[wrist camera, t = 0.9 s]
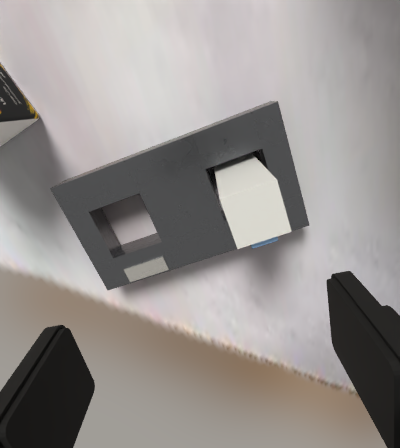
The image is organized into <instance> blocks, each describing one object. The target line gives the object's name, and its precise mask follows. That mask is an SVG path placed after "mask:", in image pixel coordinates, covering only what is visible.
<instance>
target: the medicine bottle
mask: <svg viewBox="0 0 400 448" xmlns="http://www.w3.org/2000/svg"><path fill="white" fill-rule="evenodd" d="M38 119H39V115H38V113H37V112H36V110H35V109H34V108H33V106H32V105H31V104H30V102H29V101H28V100H27V98H26V97H25V96H24V94H23V93H22V92H21V90H20V89H19V88H18V86H17V85H16V84H15V82H14V81H13V80H12V78H11V77H10V76H9V74H8V73H7V72H6V70H5V69H4V68H3V66H2V65H1V64H0V147H1V146H2V145H3V144H5V143H6V142H8V141H9V140H10V139H12V138H13V137H15V136H16V135H17V134H19V133H20V132H22V131H23V130H24V129H26V128H27V127H28V126H30V125H31V124H33V123H34V122H35V121H37V120H38Z"/></svg>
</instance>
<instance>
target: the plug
mask: <svg viewBox="0 0 400 448" xmlns="http://www.w3.org/2000/svg"><path fill="white" fill-rule="evenodd" d="M214 171H215V176H216V182H217V187H218V193H219V199H220V202H221V205H222V207H223V210H224V213H225V216H226V218H227V221H228V224H229V227H230V230H231V232H232V235H233V238H234V241H235V243H236V246H237V249H240V248H243V247H246V246H249V245H251V247H252V249H253V248H256V247H260V246H263V245H266V244H269V243H272V242H275V241H278V237H277V236H280V235H283V234H286V233H289V232H292V231H291V228H290V224H289V220H288V217H287V213H286V210H285V206H284V203H283V199H282V196H281V192H280V188H279V185H278V181H277V179H276V178H275V177H274V176H273V175H272V174H271V173H270V172H269V171H268V170H267V169H266V168H265V167H264V165H263V164H262V163H261V162H260V161H259V160H258V159H257V158H256V157H255V156H254V155H253V154H249V155H246V156H243V157H241V158H238V159H235V160H232V161H230V162H227V163H224V164H221V165H219V166H216V167H214Z"/></svg>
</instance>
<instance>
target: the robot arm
mask: <svg viewBox="0 0 400 448" xmlns="http://www.w3.org/2000/svg"><path fill="white" fill-rule="evenodd" d="M327 292H328V303H329V315H330V326H331V337H332V344H333V347H334V350H335V352H336V354H337V356H338V358H339V359H340V361H341V363H342V365H343V367H344V369H345V370H346V372H347V374H348V376H349V378H350V380H351V381H352V383H353V385H354V387H355V389H356V391H357V393H358V394H359V396H360V398H361V400H362V402H363V404H364V405H365V407H366V409H367V411H368V413H369V415H370V416H371V418H372V420H373V422H374V424H375V426H376V428H377V429H378V431H379V433H380V435H381V437H382V439H383V440H384V442H385V444H386V446H387V448H400V316H399V315H398V314H397V312H396V311H395V310H394V309H393V308H391V307H390V306H387V305H386V306H381V305H380V304H379V302H378V301H377V300H376V299H375V298H374V297H373V296H372V295H371V293H370V292H369V291H368V290H367V289H366V288H365V287H364V286H363V285H362V283H361V282H360V281H359V280H358V279H357V278H356V277H355V276H354V275H353V273H352V272H350V271H346V272H341V273H335V274H332V276H331V279H328V280H327ZM94 388H95V385H94V380H93V378H92V376H91V374H90V371H89V369H88V367H87V365H86V363H85V361H84V359H83V356H82V355H81V352H80V350H79V348H78V346H77V344H76V342H75V339H74V337H73V335H72V333H71V331H70V329H68V328H65V326H63V325H58V326H53V327H47V328H45V329H44V331H43V332H42V333H41V334H40V336H39V337H38V339H37V340H36V342H35V343H34V345H33V346H32V347H31V349H30V350H29V352H28V353H27V354H26V356H25V357H24V359H23V360H22V362H21V363H20V365H19V366H18V367H17V369H16V370H15V372H14V373H13V374H12V376H11V377H10V379H9V380H8V381H7V383H6V385H5V386H4V387H3V389H2V390H1V392H0V448H73V446H74V444H75V441H76V438H77V436H78V433H79V430H80V428H81V425H82V422H83V420H84V417H85V414H86V411H87V409H88V406H89V404H90V401H91V398H92V396H93V393H94Z"/></svg>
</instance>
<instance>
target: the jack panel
mask: <svg viewBox="0 0 400 448" xmlns="http://www.w3.org/2000/svg"><path fill="white" fill-rule="evenodd" d="M257 150H259V154H260V157H261V161H262V164H263V165H264V167H265V168H266V169H267V170H268V171H269V172H270V173H271V174H272V175H273V176H274V177H275V178H276V179H277V181H278V185H279V188H280V192H281V196H282V199H283V203H284V206H285V210H286V213H287V217H288V220H289V224H290V228H291V231H293V230H296V229H299V228H302V227H305V226H309V222H308V218H307V214H306V210H305V206H304V202H303V198H302V194H301V190H300V186H299V182H298V179H297V175H296V171H295V167H294V163H293V159H292V155H291V151H290V147H289V143H288V139H287V135H286V132H285V128H284V124H283V120H282V116H281V112H280V108H279V104H278V101H270V102H268V103H265V104H263V105H260V106H257V107H255V108H252V109H250V110H247V111H244V112H242V113H239V114H237V115H234V116H231V117H229V118H226V119H224V120H221V121H218V122H216V123H213V124H211V125H208V126H205V127H203V128H200V129H198V130H195V131H192V132H190V133H187V134H185V135H182V136H179V137H177V138H174V139H172V140H169V141H166V142H164V143H161V144H159V145H156V146H153V147H151V148H148V149H146V150H143V151H140V152H138V153H135V154H133V155H130V156H127V157H125V158H122V159H120V160H117V161H114V162H112V163H109V164H107V165H104V166H101V167H99V168H96V169H94V170H91V171H88V172H86V173H83V174H81V175H78V176H75V177H73V178H70V179H68V180H65V181H63V182H61V183H59V184H58V185H56V186H54V187H52V188H51V191H52V192H53V194H54V196H55V198H56V200H57V201H58V203H59V205H60V207H61V208H62V210H63V212H64V214H65V215H66V217H67V219H68V221H69V223H70V224H71V226H72V228H73V230H74V231H75V233H76V235H77V237H78V238H79V240H80V242H81V244H82V246H83V247H84V249H85V251H86V253H87V254H88V256H89V258H90V260H91V261H92V263H93V265H94V267H95V269H96V270H97V272H98V274H99V276H100V277H101V279H102V281H103V283H104V284H105V286H106V288H107V290H111V289H114V288H117V287H120V286H123V285H126V284H129V283H132V282H135V281H138V280H142V279H145V278H148V277H151V276H154V275H157V274H160V273H163V272H166V271H169V270H172V269H176V268H179V267H182V266H185V265H188V264H191V263H194V262H197V261H200V260H203V259H206V258H210V257H213V256H216V255H219V254H222V253H225V252H228V251H231V250H234V249H237V246H236V243H235V241H234V238H233V235H232V232H231V230H230V227H229V224H228V221H227V218H226V216H225V213H224V210H223V211H222V209H221V206H220V203H219V200H218V198H217V195H216V192H215V189H214V187H213V184H212V181H211V178H210V176H209V173H208V170H207V168H210V167H213V166H216V165H218V164H221V163H224V162H227V161H229V160H232V159H235V158H238V157H240V156H243V155H246V154H249V153H251V152H254V151H257ZM139 193H140V195H141V198H142V200H143V202H144V204H145V206H146V208H147V211H148V213H149V215H150V217H151V219H152V222H153V224H154V226H155V228H156V230H157V233H156V234H153V235H150V236H147V237H144V238H141V239H138V240H136V241H133V242H130V243H127V244H124V245H120V243H119V241H118V239H117V238H116V236H115V234H114V232H113V230H112V228H111V226H110V224H109V222H108V220H107V218H106V216H105V214H104V212H103V210H102V208H101V207H103V206H106V205H109V204H112V203H114V202H117V201H120V200H122V199H125V198H128V197H131V196H133V195H136V194H139Z"/></svg>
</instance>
